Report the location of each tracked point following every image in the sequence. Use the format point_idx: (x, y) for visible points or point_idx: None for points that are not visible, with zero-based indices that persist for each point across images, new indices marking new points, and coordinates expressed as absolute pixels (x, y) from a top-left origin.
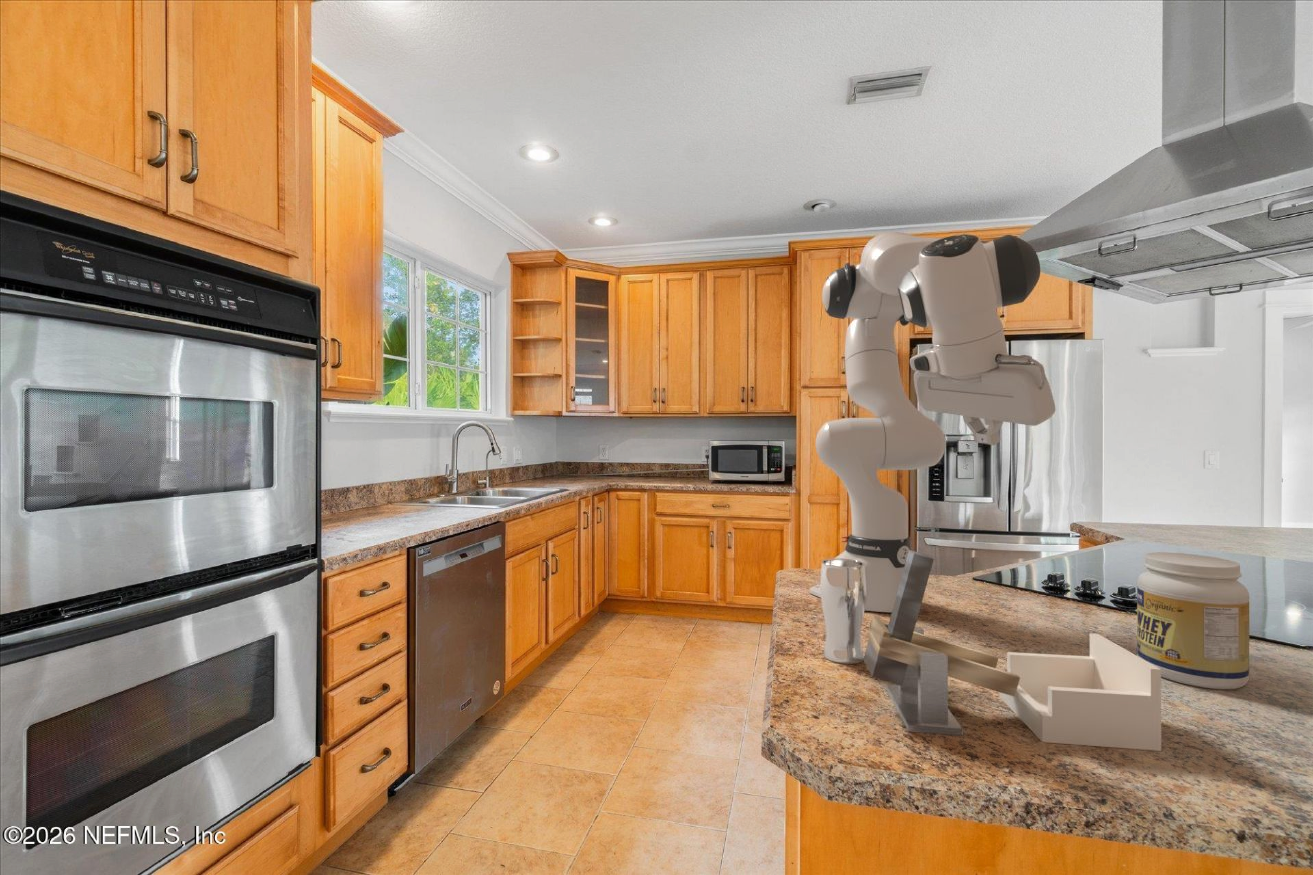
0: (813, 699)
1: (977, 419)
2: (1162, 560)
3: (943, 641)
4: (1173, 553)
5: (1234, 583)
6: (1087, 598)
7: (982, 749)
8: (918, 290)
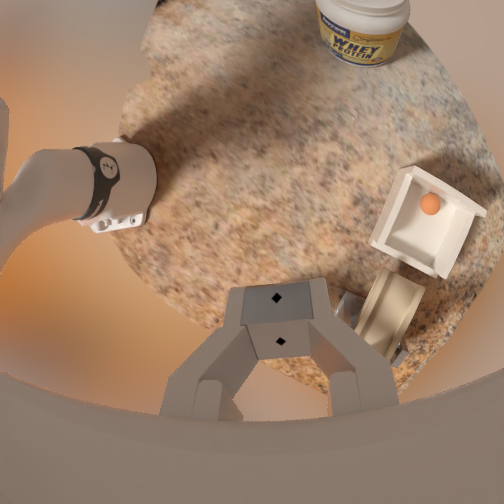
0: None
1: (211, 378)
2: (368, 5)
3: (367, 316)
4: None
5: None
6: None
7: (420, 317)
8: None
